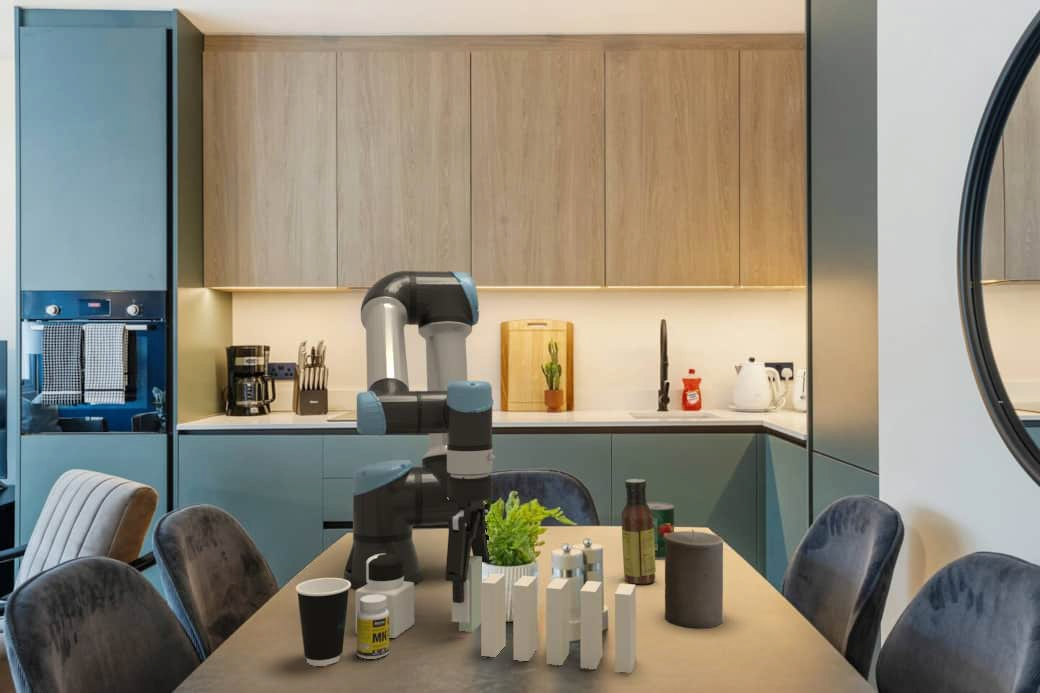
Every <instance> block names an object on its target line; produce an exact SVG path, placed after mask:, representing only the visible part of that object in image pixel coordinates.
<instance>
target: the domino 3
mask: <svg viewBox="0 0 1040 693" xmlns="http://www.w3.org/2000/svg"><path fill="white" fill-rule="evenodd" d="M545 589H546V590H545V592H546V593H545V594H546V596H545V598H546V601H545V603H546V604H545V605H546V607H545V608H546V609H545V610H546V611H545V612H546V614H545V615H546V618H545V619H546V621H545V622H546V626H545V627H546V630H545V632H546V665H549V664H552V665H551V666H557V665H559V666H560V665H562V666H563V664H564V663H565V661H566V659H567V658H568V656H569V654H570V579H569V578H556V577H555V578H554V579H553V580H552V581H551V582H550V583H549V584H548V585H547V587H546V588H545ZM560 667H561V666H560Z"/></svg>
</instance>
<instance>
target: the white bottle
mask: <svg viewBox="0 0 1040 693" xmlns="http://www.w3.org/2000/svg"><path fill="white" fill-rule="evenodd" d="M366 582H367V583H368V584H367V585H365V586H363V587H361V588H359V589H355V593H354V594H355V597H354V598H355V599H354V600H355V608H354V609H355V634H356V635H357V614H358V612H359V611H360V610H361V609H360V598H361V597H363V596H367V595H374V594H377V595H384V596H386V597H387V607H386V609H387V610H388V611H389V638H395V639H396V638H398V637H399V636H400V635H402V634H403V633H404V632H406V631H407V630H409V629H410V628H412V625H413V626H414V625H415V584H414V583H413V582H406V581H404V559H403V558H402V557H401V556H399V555H397V554H391V553H384V554H377V555H374V556H372V557H370V558H369V559H368V560H367V561H366ZM405 630H406V631H405ZM401 633H402V634H401Z"/></svg>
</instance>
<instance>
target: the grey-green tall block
mask: <svg viewBox="0 0 1040 693" xmlns="http://www.w3.org/2000/svg"><path fill="white" fill-rule="evenodd" d="M467 580H469V622H468V623H461V622H458V632H460V631H465V632H464V633H470V632H472V633H473V632H474V631H475V630H476V629H478V628H479V626H481V582H482V556H473V555H470V559H469V566H468V573H467Z"/></svg>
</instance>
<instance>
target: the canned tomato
mask: <svg viewBox="0 0 1040 693" xmlns="http://www.w3.org/2000/svg"><path fill="white" fill-rule="evenodd" d="M646 503H647V505H648V506H649V508H650V510H651V512H652V518H653V519H652V520H653V528H654V546H655V560H665V536H666V535H667V534H669V533H672V532H675V506H674V504H672V503H668V502H660V501H659V502H658V501H657V502H656V501H655V502H653V501H652V502H651V501H650V502H646Z"/></svg>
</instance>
